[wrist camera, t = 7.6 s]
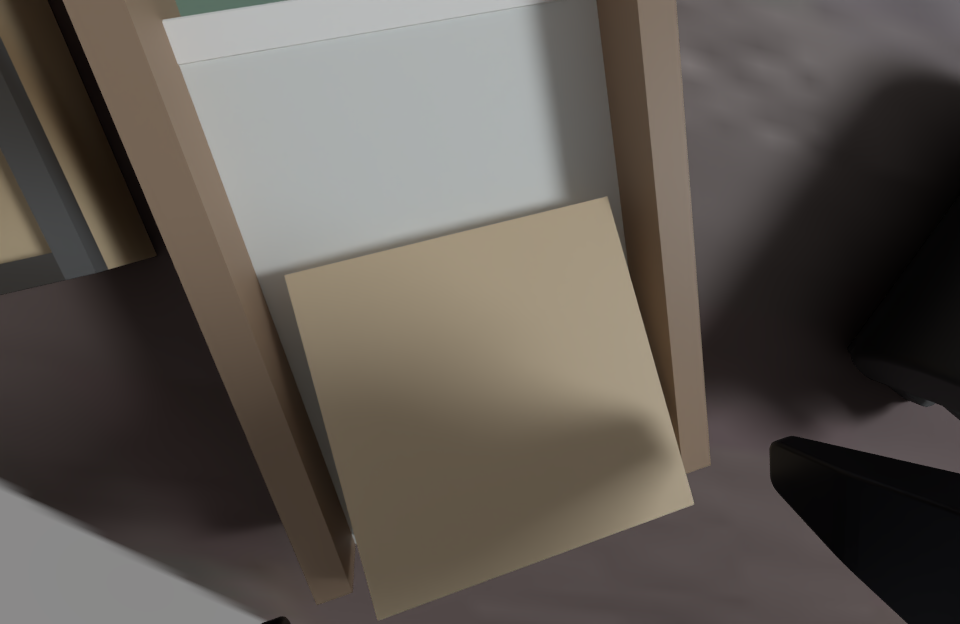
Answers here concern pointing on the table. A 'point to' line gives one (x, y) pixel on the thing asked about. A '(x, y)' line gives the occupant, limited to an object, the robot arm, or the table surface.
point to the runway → (428, 264)
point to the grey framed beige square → (55, 163)
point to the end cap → (919, 325)
